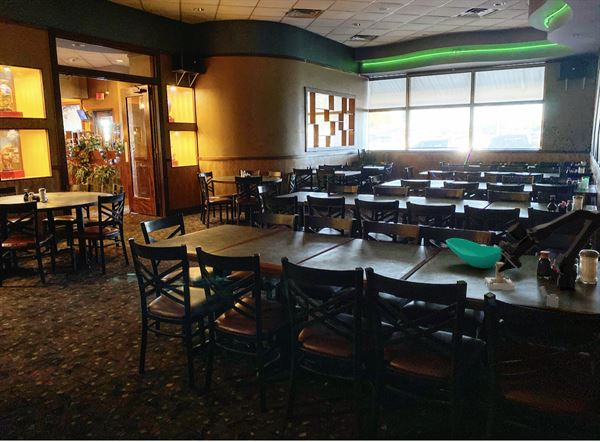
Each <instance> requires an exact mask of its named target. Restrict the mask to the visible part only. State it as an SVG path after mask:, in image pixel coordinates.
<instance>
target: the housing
mask: <svg viewBox="0 0 600 442" xmlns="http://www.w3.org/2000/svg"><path fill="white" fill-rule="evenodd" d="M484 283H485V285H486V284H487V285H486V287H487V288H488V287H489V288H488V290H493V289H503V290H502V291H515V286H516V285H515V283H514V282H513V281H512V280H511V279H510V276H504V277H503V283H495V277H484Z"/></svg>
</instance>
